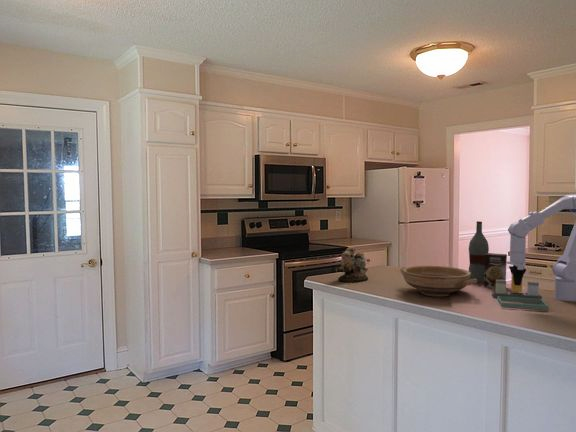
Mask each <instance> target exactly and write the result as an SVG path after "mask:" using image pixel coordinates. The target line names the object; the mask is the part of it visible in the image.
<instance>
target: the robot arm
mask: <svg viewBox="0 0 576 432" xmlns="http://www.w3.org/2000/svg"><path fill="white" fill-rule="evenodd" d="M562 210H569V211H570V212H571V213H572V214H573V216H574V217H575V218H576V193H568V194H566V195H565V196H562V197H560V198H559V199H558V200H556V201H555V202H553V203H552V204H550V205H548V206H547V207H545V208H544V209H542V210H541V211H530V212H528V215H526V216H524V217H523V218H519V219H518V221H515V222H512V223H511V224H510V225H509V227H508V228H507V232H508V233H509V235H510V240H509V244H510V245H509V261H507V263H506V265H510V266H508V268H509V270H510V273H511V275H512V274H513V278H514V284H515V285H521V282H522V283H523V277H524V275H525V273H526V272H527V268H525V266H526V265H527V262H526V253H527V252H526V249H527V245H526V244H527V240H526V239H527V238H526V237H527V236H528V235H529V233H530V231H533V230H535V229H536V228H538V227H540V226H542V225H543V224H544V223H545V220H546V219H547V218H549V217H551V216H553V215H555V214H557V213H558V212H561V211H562ZM557 258H558V259H557V261H556V262H555V263H554V264H553V266H552V268H551V271H552V274H554V275H555V276H554V299H555V300H557V301H564V302H576V220H575V221H574V225H573V228H572V230H571V232H570V235H569V238H568V240H567V243H566V246H565V249H564V251H563V254H562V255H561V256H560V257H557Z"/></svg>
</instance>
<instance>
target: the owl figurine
mask: <svg viewBox="0 0 576 432" xmlns="http://www.w3.org/2000/svg"><path fill="white" fill-rule="evenodd" d="M355 252H356V248H355V247H354V246H348V247H347V248H346V249H345V251H343V252H342V254H341V255H340V256H341V259H340V266H339V267H338V268H337V269H338V270H339V272H340V273H344V274H343V275H340V276H339V277H337V278H338V279H337V280H338V281H340V282H343V283H349V284H350V283H362V282H363V283H364V282H366V281H368V280H369V277H368V276H367V274H366V273H367V271H368V270H369V269H368V268H367V267H366V266H367V263H366V257H365V253H363V252H361V251H359V252H356V253H355Z"/></svg>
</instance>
